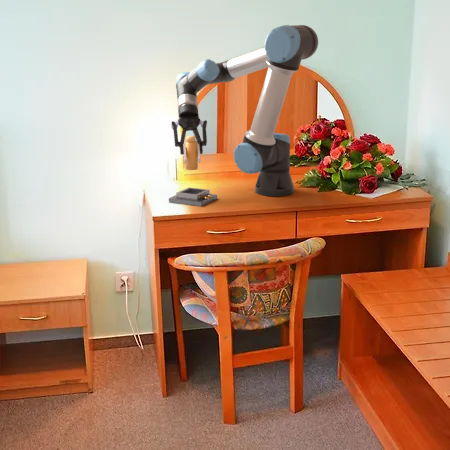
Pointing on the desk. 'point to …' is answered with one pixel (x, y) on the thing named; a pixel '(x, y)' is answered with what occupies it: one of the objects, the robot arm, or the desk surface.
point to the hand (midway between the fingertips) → (192, 160)
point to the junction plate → (193, 197)
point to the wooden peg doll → (191, 153)
